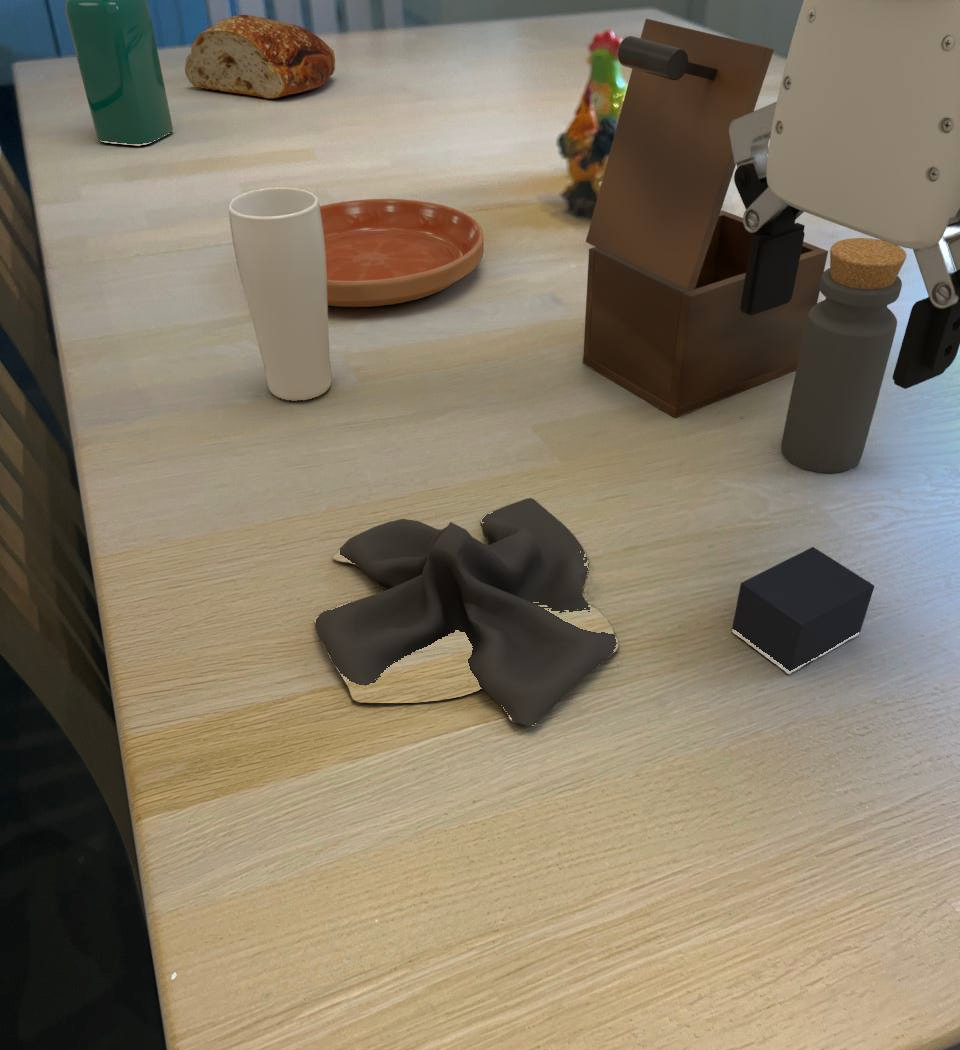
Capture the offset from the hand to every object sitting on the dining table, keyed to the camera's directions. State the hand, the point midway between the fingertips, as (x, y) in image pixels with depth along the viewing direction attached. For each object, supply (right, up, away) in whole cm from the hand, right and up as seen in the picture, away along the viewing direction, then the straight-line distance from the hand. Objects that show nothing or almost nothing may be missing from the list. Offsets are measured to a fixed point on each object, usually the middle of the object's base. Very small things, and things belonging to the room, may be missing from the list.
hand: (837, 341), depth 50 cm
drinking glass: (-33, +6, +34) cm, 48 cm away
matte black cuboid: (+1, -14, +10) cm, 18 cm away
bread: (-50, +73, +109) cm, 141 cm away
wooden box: (0, +9, +36) cm, 37 cm away
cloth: (-18, -12, +13) cm, 26 cm away
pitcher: (-65, +55, +89) cm, 123 cm away
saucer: (-29, +22, +52) cm, 64 cm away
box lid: (-4, +20, +22) cm, 30 cm away
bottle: (+8, -1, +25) cm, 26 cm away
